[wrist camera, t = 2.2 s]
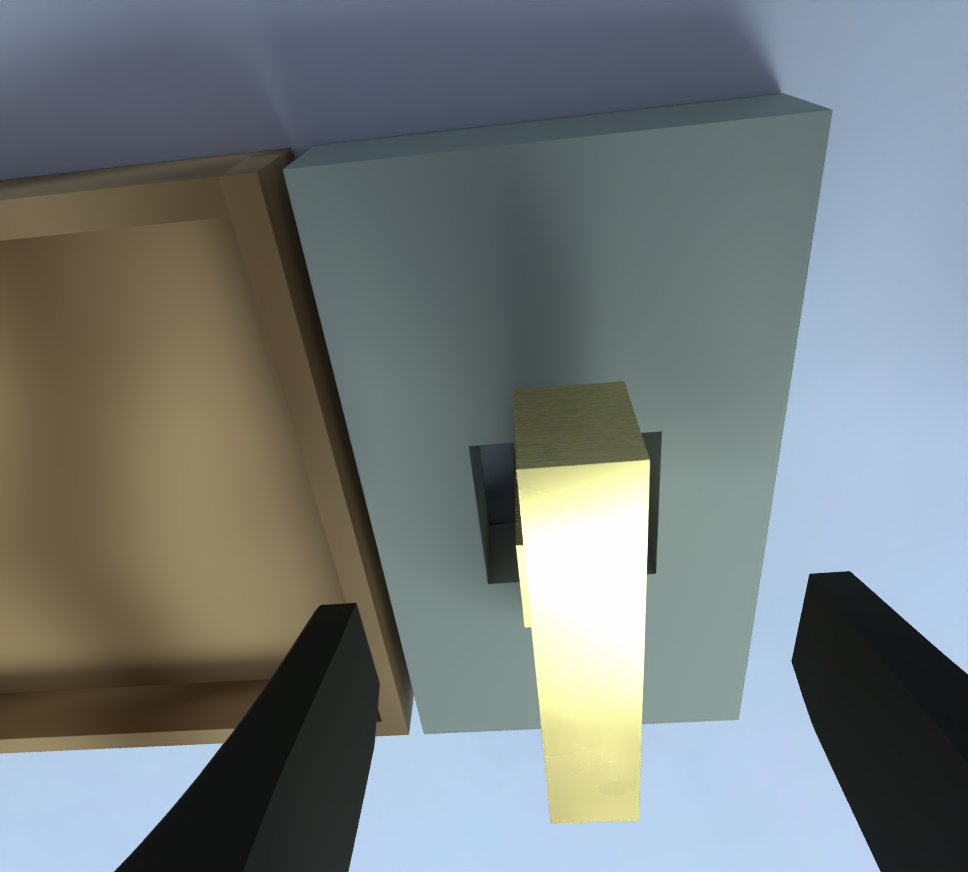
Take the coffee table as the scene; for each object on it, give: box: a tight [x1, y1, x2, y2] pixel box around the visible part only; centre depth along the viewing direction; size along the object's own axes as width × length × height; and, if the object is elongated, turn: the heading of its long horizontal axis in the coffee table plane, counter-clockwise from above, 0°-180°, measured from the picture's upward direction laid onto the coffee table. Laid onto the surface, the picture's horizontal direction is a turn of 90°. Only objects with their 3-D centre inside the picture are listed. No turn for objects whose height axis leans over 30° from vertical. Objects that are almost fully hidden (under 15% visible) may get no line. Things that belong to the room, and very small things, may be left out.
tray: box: [0, 148, 414, 753], centre depth 15 cm, size 13×14×2 cm
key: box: [513, 381, 650, 824], centre depth 13 cm, size 2×8×6 cm, turn 6°
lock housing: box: [283, 93, 832, 734], centre depth 15 cm, size 8×14×2 cm, turn 6°
